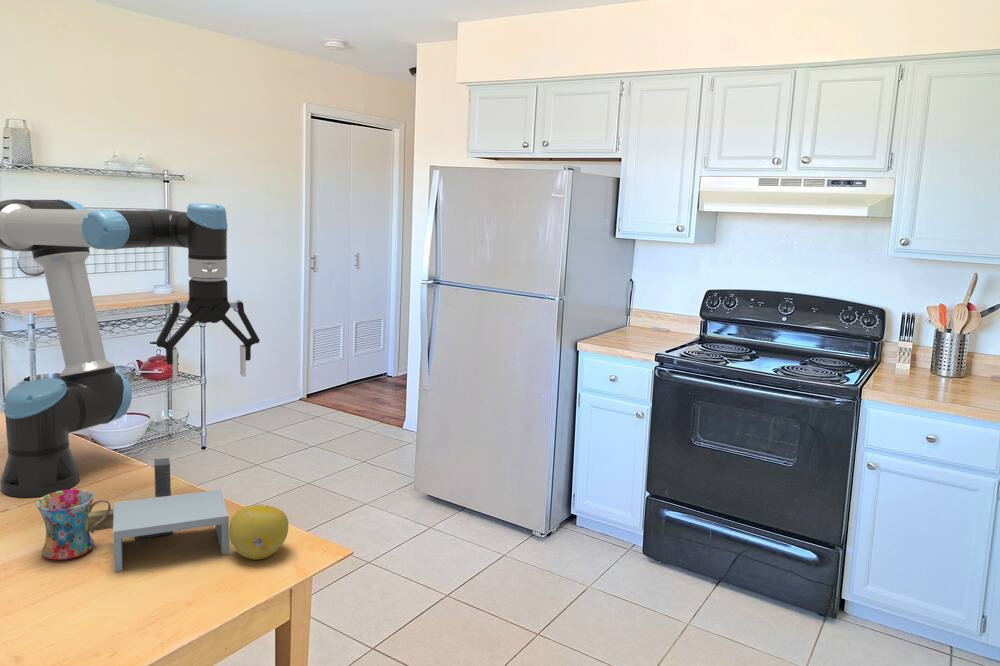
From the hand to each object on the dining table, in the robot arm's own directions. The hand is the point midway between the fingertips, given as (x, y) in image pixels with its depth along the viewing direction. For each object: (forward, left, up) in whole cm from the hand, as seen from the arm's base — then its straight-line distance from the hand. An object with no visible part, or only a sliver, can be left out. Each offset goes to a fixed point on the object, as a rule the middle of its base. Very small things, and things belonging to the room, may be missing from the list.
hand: (209, 377), depth 155 cm
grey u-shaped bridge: (+19, -9, -29) cm, 36 cm away
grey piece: (+3, -12, -29) cm, 31 cm away
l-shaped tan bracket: (+5, -22, -29) cm, 37 cm away
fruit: (+27, +6, -29) cm, 40 cm away
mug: (+14, -25, -29) cm, 41 cm away
